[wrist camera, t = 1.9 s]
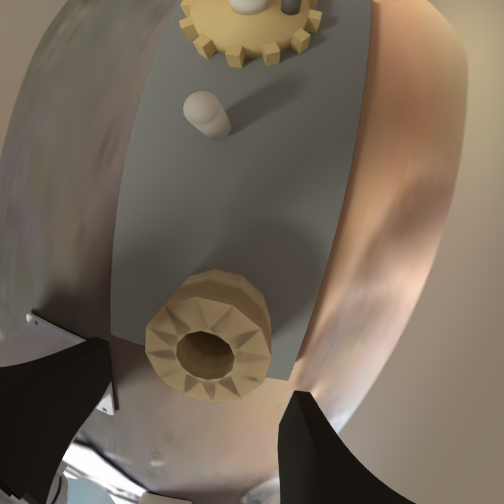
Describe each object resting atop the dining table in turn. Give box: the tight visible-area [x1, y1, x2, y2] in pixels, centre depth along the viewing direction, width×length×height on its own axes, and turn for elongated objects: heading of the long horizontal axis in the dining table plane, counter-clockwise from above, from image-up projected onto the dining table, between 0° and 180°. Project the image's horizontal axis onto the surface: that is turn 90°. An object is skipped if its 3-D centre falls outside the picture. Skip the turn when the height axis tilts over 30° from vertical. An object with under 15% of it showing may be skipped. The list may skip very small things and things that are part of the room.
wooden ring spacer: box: [145, 269, 271, 403], centre depth 13 cm, size 6×6×4 cm
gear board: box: [110, 0, 372, 381], centre depth 12 cm, size 12×26×6 cm, turn 168°
